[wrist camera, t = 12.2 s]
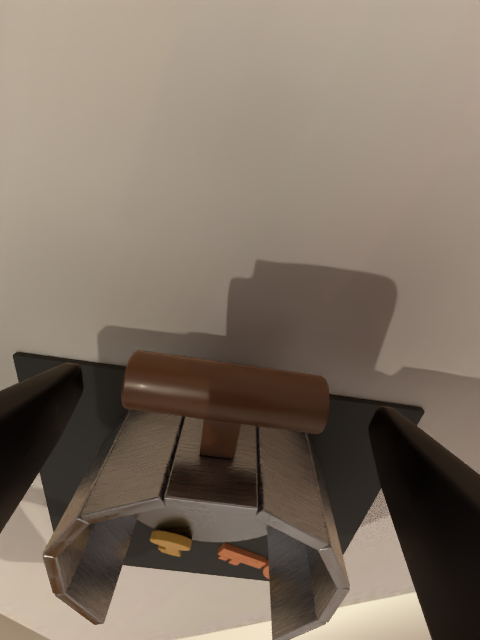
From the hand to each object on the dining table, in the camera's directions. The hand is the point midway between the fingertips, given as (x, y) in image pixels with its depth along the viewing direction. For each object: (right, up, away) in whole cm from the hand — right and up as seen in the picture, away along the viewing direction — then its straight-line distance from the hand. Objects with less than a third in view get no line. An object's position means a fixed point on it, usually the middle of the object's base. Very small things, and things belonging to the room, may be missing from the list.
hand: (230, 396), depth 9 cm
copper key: (+1, -15, +12) cm, 19 cm away
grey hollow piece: (-1, -4, +6) cm, 7 cm away
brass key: (-4, -12, +10) cm, 16 cm away
